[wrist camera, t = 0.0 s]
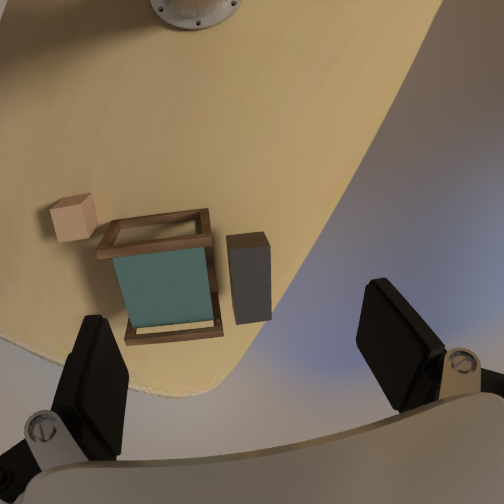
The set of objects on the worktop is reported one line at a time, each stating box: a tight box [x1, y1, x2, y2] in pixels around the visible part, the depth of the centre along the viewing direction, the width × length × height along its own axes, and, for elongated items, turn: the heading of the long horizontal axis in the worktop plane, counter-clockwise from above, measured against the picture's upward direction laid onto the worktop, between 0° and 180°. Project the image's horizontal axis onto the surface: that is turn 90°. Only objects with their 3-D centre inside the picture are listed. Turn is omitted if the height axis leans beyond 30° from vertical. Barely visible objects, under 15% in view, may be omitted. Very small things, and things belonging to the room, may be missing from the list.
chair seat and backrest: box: [112, 232, 272, 328], centre depth 43 cm, size 12×20×4 cm, turn 92°
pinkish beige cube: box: [50, 193, 98, 243], centre depth 41 cm, size 5×5×5 cm
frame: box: [96, 208, 224, 346], centre depth 45 cm, size 16×14×10 cm
